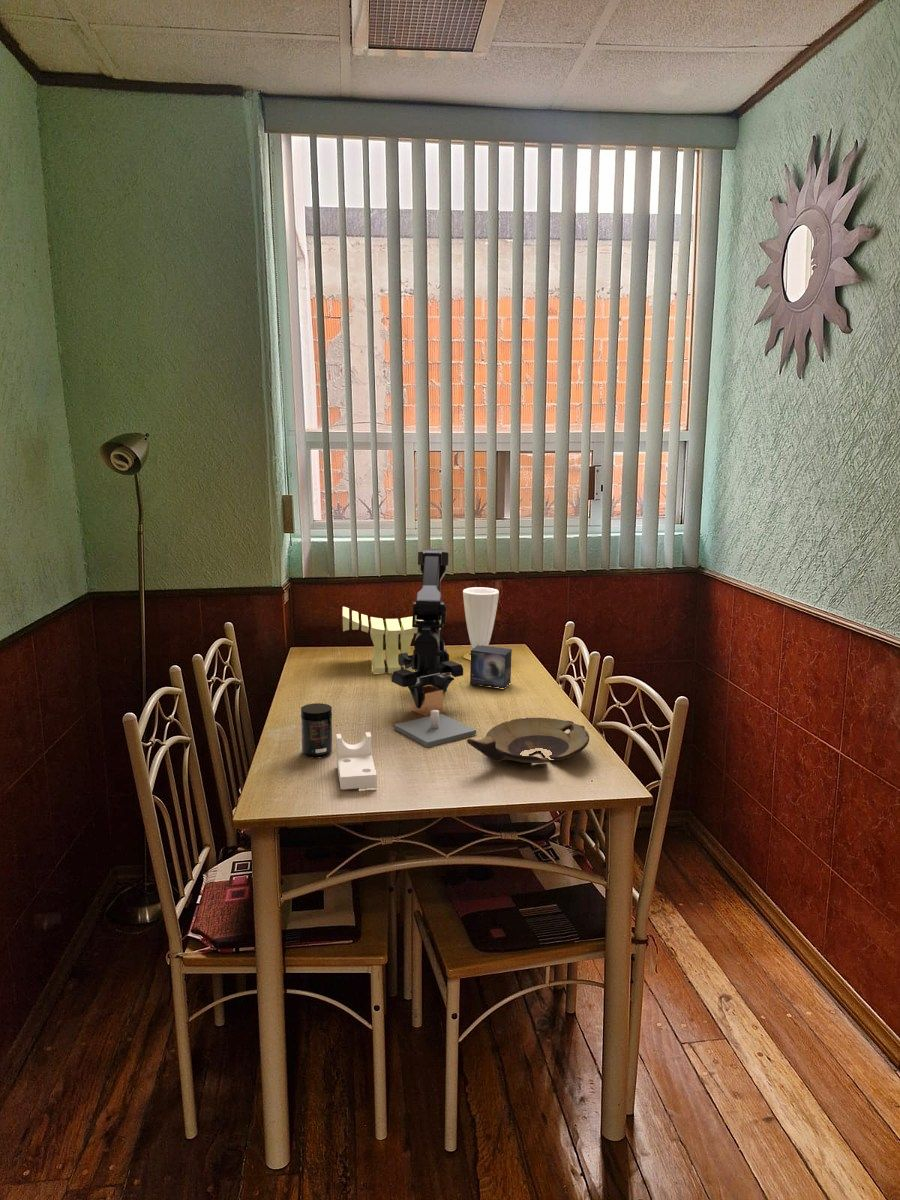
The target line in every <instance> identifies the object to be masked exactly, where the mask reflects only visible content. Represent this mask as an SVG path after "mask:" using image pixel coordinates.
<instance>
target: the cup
mask: <svg viewBox="0 0 900 1200" xmlns="http://www.w3.org/2000/svg"><path fill="white" fill-rule="evenodd" d="M462 596H463V607H464V616H465V622H466V628H467V633H468V637H469V641H470V642H469V643H470V646H471V650H472V649H473V648H475V647H476V646H477V645H483V646H490V645H489V644H490V642H491V638H492V634H493V630H494V626H495V620H496V615H497V610H498V603H499V597H500V592H499V590H498V589H496V588H492V587H483V586H482V587H481V586H479V587H478V586H477V587H476V586H475V587H467V588H465V589H463V590H462ZM469 655H471V653H470V654H469Z"/></svg>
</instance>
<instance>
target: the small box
mask: <svg viewBox="0 0 900 1200" xmlns="http://www.w3.org/2000/svg"><path fill="white" fill-rule="evenodd" d="M470 652H471V661H470V666H469V667H470V670H469V672H470V673H469V674H470V675H469V684H473V685H472V686H476V685H482V686H481V687H483V686H491V687H499V688H505V687H506V686H507V685H509V683H511V682H512V681H511V679H512V652H513V649H512V648H507V647H497V646H490V645H488V646H483V645H477V646H476V647H475V648H473V649H472V648H471V650H470ZM509 686H510V685H509Z"/></svg>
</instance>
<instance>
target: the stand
mask: <svg viewBox="0 0 900 1200" xmlns="http://www.w3.org/2000/svg"><path fill="white" fill-rule="evenodd" d="M394 729H395V731H396V730H397V732H398V731H399V732H398V733H400V732H401V733H400V734H402V735H404V736H405V735H406V736H405V737H407V736H408V737H407V738H409V737H410V738H409V739H411V740H413V741H415V742H417V743H418V742H419V744H421V746H424V745H425V746H424V747H426V748H430V747H429V746H431V747H434V745H435V746H438V745H437V744H439V745H442V743H443V744H446V742H447V743H450V742H454V741H458V740H461V739H460V738H462V739H465V738H464V737H466V738H469V737H468V736H470V737H473V736H472V735H474V736H476V735H477V729H475V728H472V727H471V726H468V725H466V724H465V723H462V722H460V721H458V720H456V719H454V718H452V717H450V716H448V715H446V714H443V713H439V710H431V715H430V716H426V717H425V716H423V717H421V718H416V719H412V720H407V721H403V722H398V723H395V724H393V730H394ZM475 734H476V735H475ZM457 739H458V740H457ZM453 740H454V741H453ZM449 741H450V742H449Z"/></svg>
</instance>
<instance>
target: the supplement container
mask: <svg viewBox="0 0 900 1200" xmlns="http://www.w3.org/2000/svg"><path fill="white" fill-rule="evenodd" d="M300 720H301V721H300V722H301V723H300V726H301V727H300V730H301V752H302V755H303V756H305V757H306V756H307V758H309V757H313V758H312V759H319V758H318V757H322V758H325V757H324V756H326V757H328V756H330V755H331V753H332V751H333V707H332V706H331V705H329V704H327V703H322V702H317V703H308V704H304V705H303V706H301V707H300ZM329 754H330V755H329ZM327 755H328V756H327Z"/></svg>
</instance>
